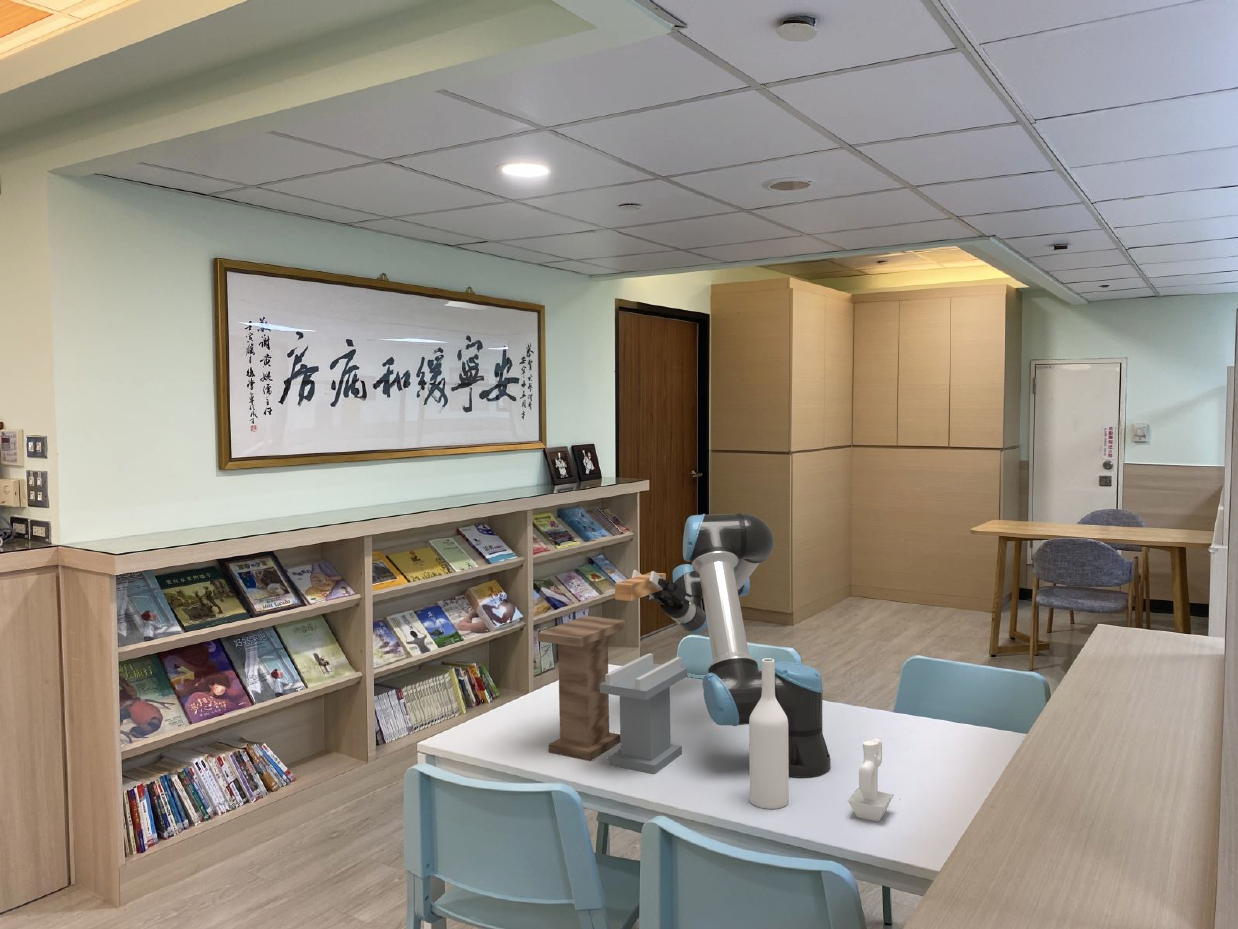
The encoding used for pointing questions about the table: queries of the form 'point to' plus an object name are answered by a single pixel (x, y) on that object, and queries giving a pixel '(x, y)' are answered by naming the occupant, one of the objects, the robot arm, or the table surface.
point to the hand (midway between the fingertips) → (642, 575)
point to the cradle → (644, 712)
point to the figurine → (870, 785)
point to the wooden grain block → (636, 587)
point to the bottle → (768, 746)
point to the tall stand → (583, 686)
